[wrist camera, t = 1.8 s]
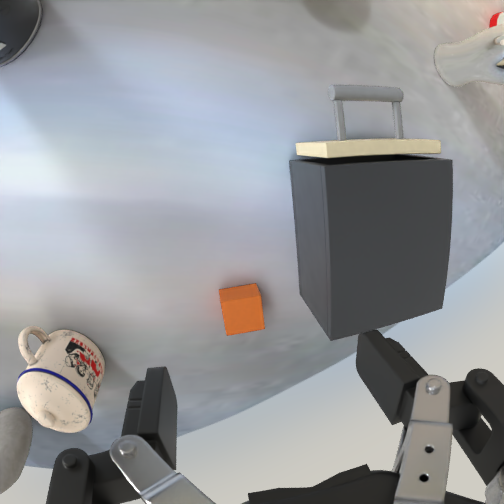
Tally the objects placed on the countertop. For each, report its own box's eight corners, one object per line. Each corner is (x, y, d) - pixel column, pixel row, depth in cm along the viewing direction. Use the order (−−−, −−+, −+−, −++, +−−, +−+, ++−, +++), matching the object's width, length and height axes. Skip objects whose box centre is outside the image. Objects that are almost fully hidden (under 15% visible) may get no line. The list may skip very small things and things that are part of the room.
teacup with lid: (121, 374, 36) (103, 445, 25) (70, 390, 35) (46, 453, 24) (67, 295, 31) (24, 354, 21) (18, 319, 31) (-26, 374, 20)
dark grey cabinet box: (288, 160, 31) (324, 166, 22) (395, 153, 32) (452, 160, 23) (299, 294, 36) (330, 341, 27) (395, 273, 37) (442, 308, 28)
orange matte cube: (218, 289, 34) (220, 302, 31) (256, 283, 34) (261, 295, 32) (224, 321, 35) (226, 336, 32) (259, 315, 36) (265, 329, 33)
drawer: (289, 93, 28) (317, 78, 21) (390, 94, 29) (435, 86, 22) (306, 273, 34) (333, 307, 27) (396, 255, 35) (436, 281, 28)
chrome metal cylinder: (448, 33, 28) (532, 11, 14) (474, 76, 30) (560, 70, 16) (422, 53, 29) (514, 30, 15) (451, 100, 31) (545, 97, 17)
